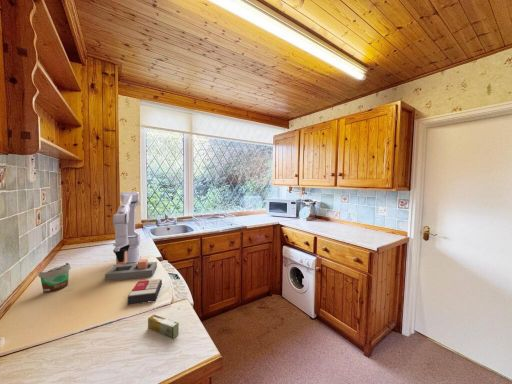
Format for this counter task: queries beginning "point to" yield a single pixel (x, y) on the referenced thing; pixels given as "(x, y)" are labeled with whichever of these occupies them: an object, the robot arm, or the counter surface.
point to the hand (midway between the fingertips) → (122, 260)
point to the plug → (123, 260)
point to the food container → (55, 278)
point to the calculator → (145, 291)
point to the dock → (131, 270)
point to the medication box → (163, 326)
